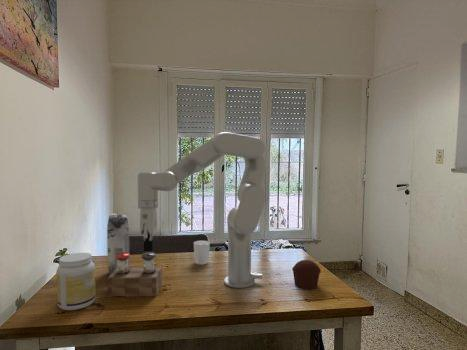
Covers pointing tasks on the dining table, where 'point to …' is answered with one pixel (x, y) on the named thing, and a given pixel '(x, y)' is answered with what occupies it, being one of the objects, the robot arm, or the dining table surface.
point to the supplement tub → (75, 281)
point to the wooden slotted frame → (134, 283)
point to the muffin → (306, 274)
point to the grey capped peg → (148, 262)
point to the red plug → (122, 263)
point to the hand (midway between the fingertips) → (148, 250)
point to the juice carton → (117, 239)
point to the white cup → (201, 252)
